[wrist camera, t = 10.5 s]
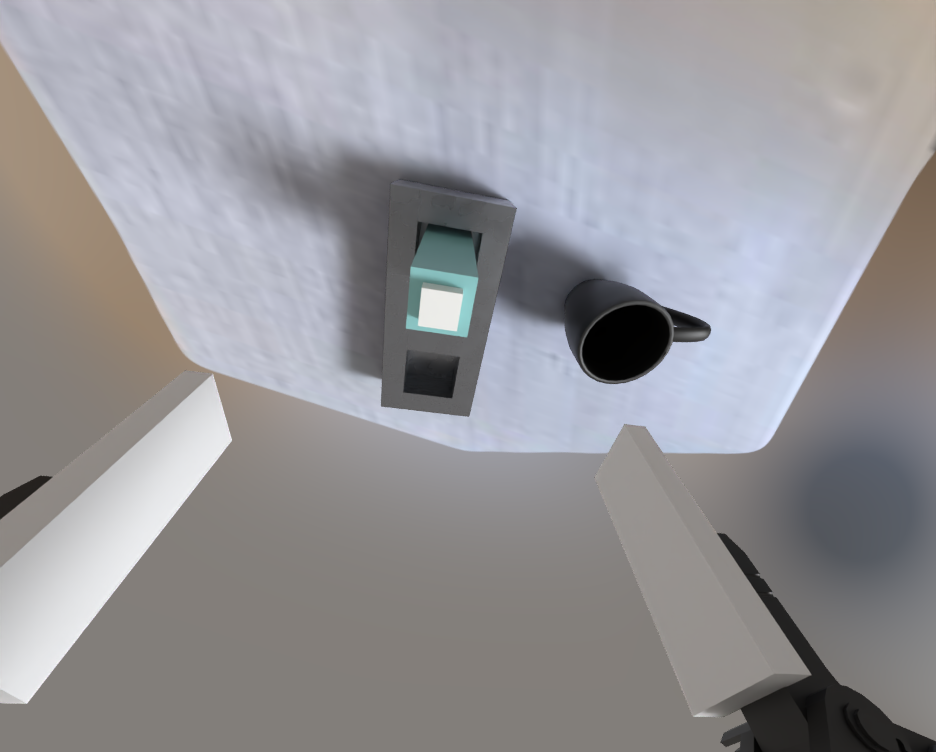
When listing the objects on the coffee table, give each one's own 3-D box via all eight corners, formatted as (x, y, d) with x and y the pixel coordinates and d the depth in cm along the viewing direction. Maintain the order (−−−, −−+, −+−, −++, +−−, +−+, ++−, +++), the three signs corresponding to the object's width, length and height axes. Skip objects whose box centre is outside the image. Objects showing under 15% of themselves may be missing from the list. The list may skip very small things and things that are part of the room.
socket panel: (399, 179, 30) (390, 183, 26) (508, 200, 31) (516, 208, 27) (388, 381, 42) (380, 406, 38) (468, 391, 43) (469, 416, 39)
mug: (652, 334, 39) (700, 381, 32) (548, 339, 40) (571, 386, 32) (673, 262, 35) (736, 295, 27) (556, 267, 35) (585, 302, 27)
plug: (428, 223, 31) (408, 271, 19) (471, 231, 32) (479, 283, 19) (424, 266, 34) (403, 335, 21) (464, 273, 34) (467, 344, 22)
